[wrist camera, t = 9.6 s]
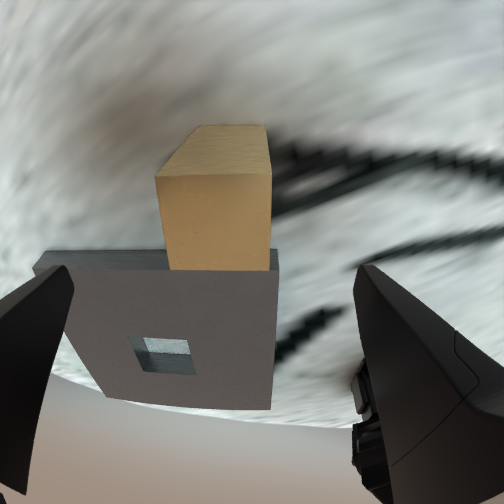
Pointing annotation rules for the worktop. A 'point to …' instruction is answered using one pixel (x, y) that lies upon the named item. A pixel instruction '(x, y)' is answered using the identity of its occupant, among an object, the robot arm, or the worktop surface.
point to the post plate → (172, 328)
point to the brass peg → (218, 200)
